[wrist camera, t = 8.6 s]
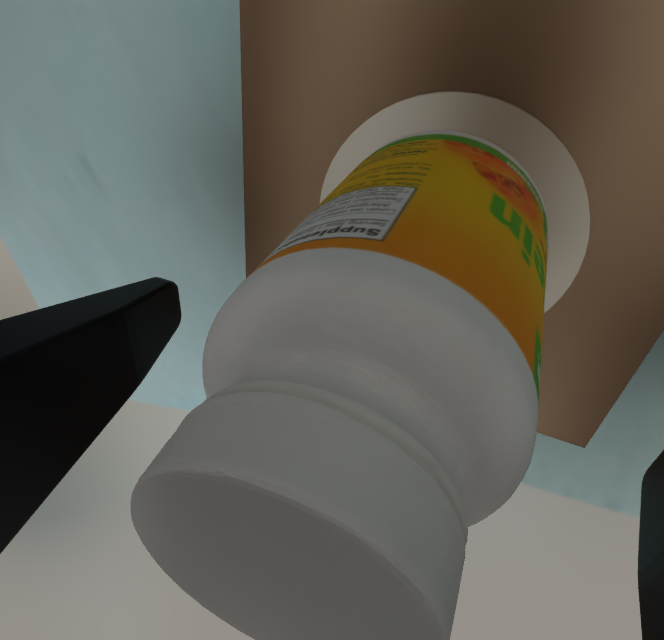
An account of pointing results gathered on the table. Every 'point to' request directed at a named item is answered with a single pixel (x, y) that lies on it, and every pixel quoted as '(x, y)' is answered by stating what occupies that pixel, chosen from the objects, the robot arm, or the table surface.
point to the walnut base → (494, 126)
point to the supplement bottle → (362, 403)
